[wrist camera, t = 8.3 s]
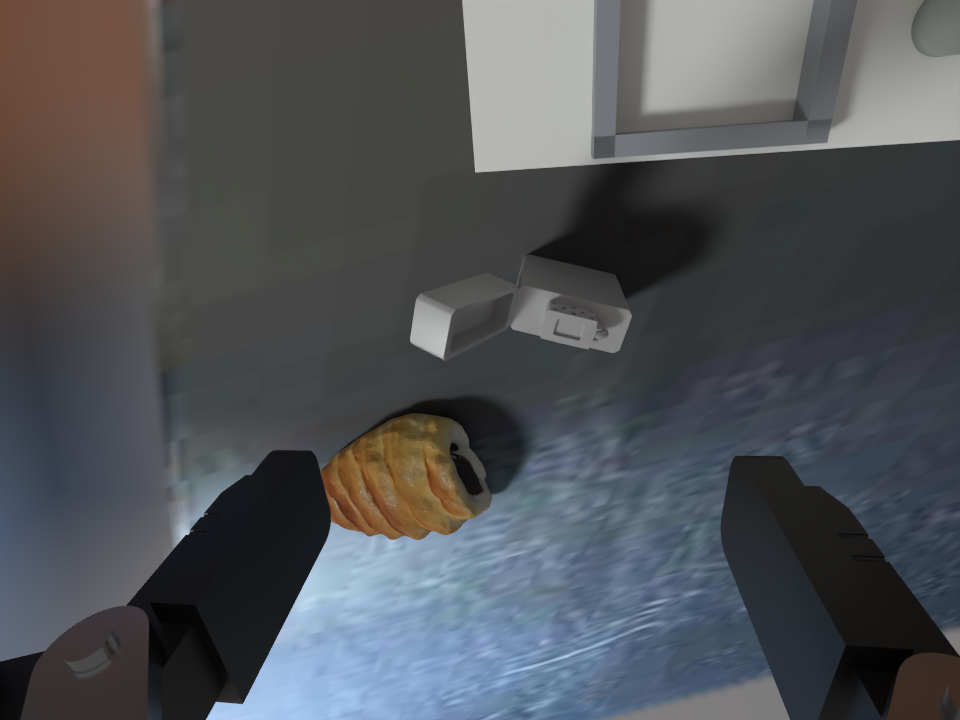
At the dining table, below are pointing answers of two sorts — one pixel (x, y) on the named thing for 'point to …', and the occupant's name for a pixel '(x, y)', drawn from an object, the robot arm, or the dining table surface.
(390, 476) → the pastry
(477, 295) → the lighter
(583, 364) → the dining table surface
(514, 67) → the board
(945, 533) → the dining table surface
